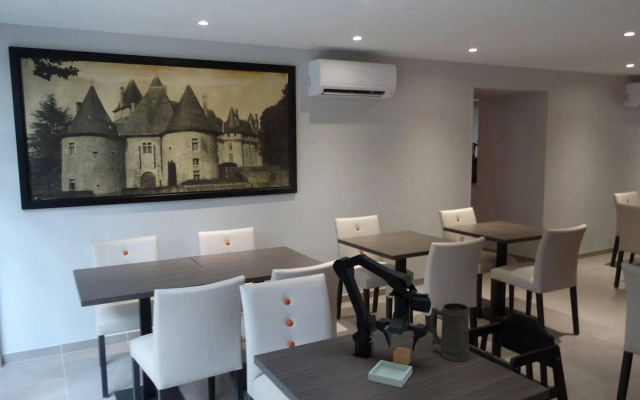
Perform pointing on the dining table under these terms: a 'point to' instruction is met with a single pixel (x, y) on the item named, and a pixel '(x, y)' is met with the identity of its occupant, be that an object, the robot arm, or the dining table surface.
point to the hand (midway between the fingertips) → (401, 348)
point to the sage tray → (390, 373)
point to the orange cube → (401, 356)
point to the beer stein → (452, 331)
